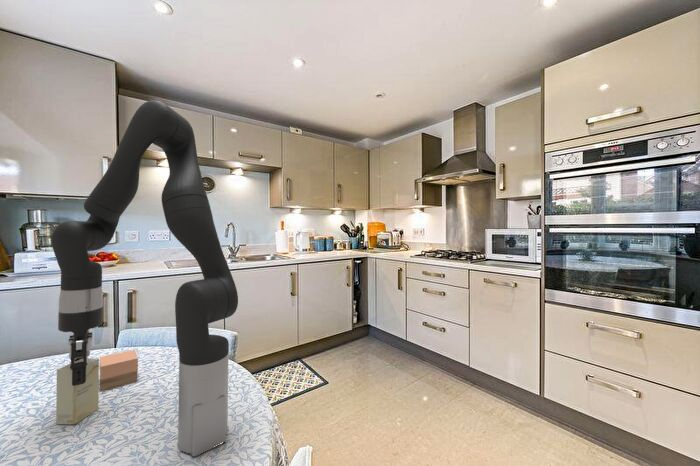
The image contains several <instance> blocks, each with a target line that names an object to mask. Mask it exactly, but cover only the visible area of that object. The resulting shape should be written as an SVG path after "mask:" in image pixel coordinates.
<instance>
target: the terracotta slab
mask: <svg viewBox="0 0 700 466" xmlns="http://www.w3.org/2000/svg"><path fill="white" fill-rule="evenodd" d="M138 366H139V357H138V355H137V352H136V350H135V349H131V350H125V351H122V352H116V353H111V354H106V355H103V356H99V381H100V380H102V379H106V378H110V377H114V376H118V375H122V374H126V373H130V372H134V371H137V372H138V369H139V367H138Z"/></svg>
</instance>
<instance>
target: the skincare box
mask: <svg viewBox="0 0 700 466" xmlns="http://www.w3.org/2000/svg"><path fill="white" fill-rule="evenodd" d="M83 359H84V358H82V359H80V360H78V361H75V363H78V362H83ZM87 362H88V365H87V367H86V382H85V383H84V384H80V385H76V386H73V385H72V370H71V368H70V366H71V363H69V364H67V365H65V366H62V367H60V368H58V369H56V396H55V397H56V399H55V400H56V402H55V403H56V406H55V407H56V410H55V411H56V413H55V414H56V416H55V419H56V420H55V422H56V423H55V424H56V425H77V424H78V423H79V422H81V421H82V420H84V419H85V418H86V417H88V416H90V415H91V414H93V413H94V412H96V411H97V410H98V409H99V408H100V407H99V403H100V401H99V400H100V399H99V397H100V396H99V395H100V394H99V392H100V358H87Z"/></svg>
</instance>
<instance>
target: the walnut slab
mask: <svg viewBox="0 0 700 466" xmlns="http://www.w3.org/2000/svg"><path fill="white" fill-rule="evenodd" d="M135 383H138V371H134V372H130V373H126V374H122V375H118V376H114V377H110V378H106V379H102V380H100V379H99V392H100V393H101V392H105V391H109V390H112V389H116V388H119V387H124V386H127V385H130V384H131V385H132V384H135Z"/></svg>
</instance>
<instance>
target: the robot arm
mask: <svg viewBox="0 0 700 466" xmlns="http://www.w3.org/2000/svg"><path fill="white" fill-rule="evenodd" d="M152 144H153V145H155V146H157V147H159V148H161V149H162V151H163V152H164V154H165V156H166V161H167V164H168V168H169V175H168V178H167V180H166V182H165V184H164V187H163V189H162V191H161V197H160V198H161V205H162V211H163V214H164V218H165V222H166V226H167V229H169V232H171V234H172V235H173V236H174V237H175V239H176V240H177V241H178V242H179V243H180V244H181V245H182V246H183V247H184V248H185V249H186V250H187V251H188V252H189V253H190V254H191V255H192V256H193V257H194V259H195V260H196V262H197V264H198V266H199V268H200V271H201V273H202V276H203V278H202V279H196V280H190V281H187V282H184V283H183V284H181V285H180V287H179V288H178V290H177V291H176V295H175V302H174V311H175V312H174V313H175V315H174V316H175V331H176V333H175V338H176V344H177V349H178V350H177V351H178V353H179V355H178V356H179V358H178V359H179V360H178V364H179V365H178V371H179V372H178V405H177V406H178V408H177V409H178V410H177V411H178V412H177V413H178V416H177V417H178V418H177V420H178V421H177V423H178V425H177V426H178V427H177V429H178V431H177V434H178V435H177V446H178V450H179V451H180V452H182V451H183V452H182V453H184V452H186V453H185V454H188V453H190V454H189V455H190V456H191V457H192V456H195V457H197V456H199V455H201V453H202V452H204V453H206V452H208V451H210V450H212V449H211V448H213V447H214V446H216V445H218V444H220V443H222V442H225V441H227V440H226V439H227V435H228V418H229V417H228V413H229V412H228V410H229V409H228V408H229V405H228V403H229V359H230V358H229V350H230V343H229V340H228V338H226V337H225V336H223V335H219V334H210V331H209V324H211V323H215V322H218V321H221V320H224V319H227V318H230V317H232V316H233V315H234V314H235V313H236V311H237V309H238V306H239V294H238V290H237V286H236V283H235V280H234V278H233V275H232V273H231V270H230V267H229V265H228V262H227V259H226V257H225V254H224V251H223V249H222V245H221V242H220V240H219V239H220V238H219V235H218V233H217V228H216V225H215V222H214V217H213V213H212V209H211V205H210V201H209V198H208V195H207V191H206V188H205V184H204V181H203V176H202V172H201V168H200V164H199V161H198V160H199V159H198V151H197V144H196V138H195V133H194V130H193V127H192V125H191V123H190V122H189V121H188V120H187V119H186V118H185V117H184V116H182V115H181V114H179V113H178V111H175V110H174V109H173V108H171V106H169V105H168V104H166V103H164V102H162V101H161V100H156V99H154V100H153V99H152V100H148V101H146V102H144V103H143V104H141V105H140V106H139V107H138V108H137V109H136V111H135V113H134V114H133V115H132V117H131V120H130V121H129V122H128V125H127V127H126V130H125V132H124V134H123V136H122V138H121V140H120V142H119V145H118V146H117V149H116V151H115V153H114V155H113V158H112V160H111V162H110V164H109V165H108V168H107V170H106V171H105V173H104V175H102V177H101V179H100V180H99V181H98V183H97V184H96V185H95V187H94V188H93V190H92V191H91V193H89V195H88V196H87V198H86V200H85V201H84V203H83V209H84V211H86V212H87V213H88V214H89V217H88V219H87V220H86V221H84V220H83V221H82V220H81V221H80V220H67V221H63V222H60V223H59V224H57V225H56V227H55V228H54V230H53V231H52V234H51V236H50V237H51V238H50V239H51V241H50V242H51V247H52V250H53V253H54V256H55V258H56V259H55V260H56V263H57V265H58V267H59V270H60V292H59V293H60V294H59V296H58V313H57V314H58V317H57V321H58V323H57V326H58V327H57V329H58V331H60V332H63V333H73V334H71V335H69V337H68V343H67V345H68V348H69V351H68V352H69V354H68V358H69V360H70V364H71V366H70V368H71V370H72V385H73V386H76V385H80V384H84V383H85V382H86V367H87V365H88V362H87V358H88V357H89V356H90V355H91V347H92V343H93V332H91V331H90V330H91V329H95V328H98V327H99V326H101V325H102V324H103V317H104V316H103V313H104V311H103V310H104V309H103V308H104V292H103V267H102V265H101V264H100V263H99V262H98V261H91V260H90V257H89V253H88V252H92V251H99V250H102V249H103V248H104V247H106V246H107V245H109V243H110V242H111V241H112V239H113V238H114V235H115V233H116V229H117V227H118V225H119V222H120V218H121V216H122V215H123V213H124V212H125V211H126V209H127V208H128V207H129V205H130V204H131V202H132V201H133V200H134V198H135V196H136V194H137V192H138V188H139V184H140V183H139V182H140V170H141V168H140V167H141V163H142V159H143V157H144V154H145V153H146V151H147V150H148V149H149V148H150V147H151V145H152ZM82 358H84V359H83V362H78V363H75V361H78V360H80V359H82ZM226 434H227V435H226ZM225 443H226V442H225ZM209 449H210V450H209ZM213 449H214V448H213ZM207 450H208V451H207ZM205 451H206V452H205ZM202 454H203V453H202ZM196 455H197V456H196Z"/></svg>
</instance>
